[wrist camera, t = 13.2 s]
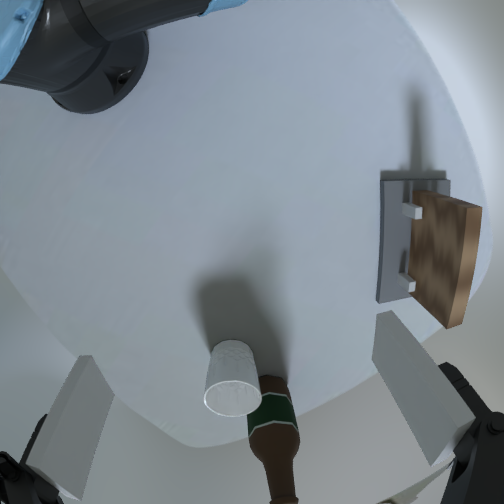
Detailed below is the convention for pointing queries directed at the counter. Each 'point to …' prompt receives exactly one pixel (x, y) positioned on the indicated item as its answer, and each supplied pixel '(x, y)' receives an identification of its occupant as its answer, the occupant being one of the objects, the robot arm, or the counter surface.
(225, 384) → the white cup
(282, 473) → the beer bottle
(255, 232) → the counter surface
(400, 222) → the board
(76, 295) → the counter surface
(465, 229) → the brown wooden board
